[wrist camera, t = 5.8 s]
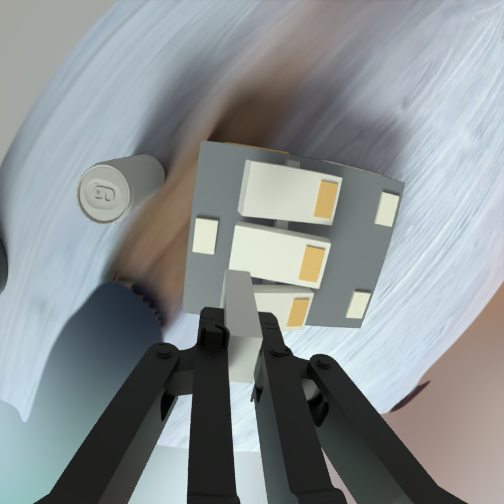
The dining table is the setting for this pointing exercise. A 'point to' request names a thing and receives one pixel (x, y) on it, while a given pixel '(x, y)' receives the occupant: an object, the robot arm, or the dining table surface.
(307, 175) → the plate
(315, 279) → the rocker
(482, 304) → the dining table surface
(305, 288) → the rocker
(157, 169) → the beverage can
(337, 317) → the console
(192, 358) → the robot arm
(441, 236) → the dining table surface
